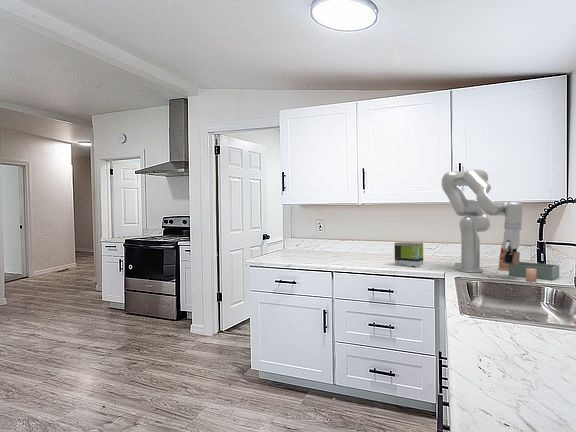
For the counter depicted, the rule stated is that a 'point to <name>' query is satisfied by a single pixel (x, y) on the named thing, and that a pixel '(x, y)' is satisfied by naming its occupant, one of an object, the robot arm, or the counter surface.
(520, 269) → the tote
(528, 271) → the terracotta jar
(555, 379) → the counter surface
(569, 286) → the counter surface
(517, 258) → the walnut block
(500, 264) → the milk carton
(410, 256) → the tea box
